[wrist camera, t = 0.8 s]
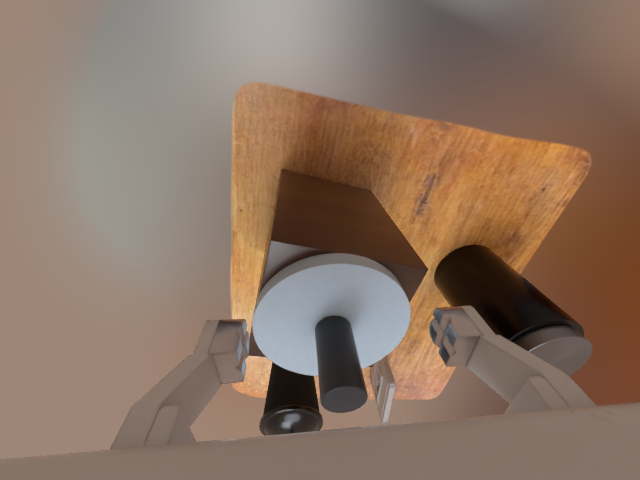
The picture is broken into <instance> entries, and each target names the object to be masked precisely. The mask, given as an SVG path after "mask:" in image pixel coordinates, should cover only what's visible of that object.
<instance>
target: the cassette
mask: <svg viewBox="0 0 640 480" xmlns="http://www.w3.org/2000/svg"><path fill="white" fill-rule="evenodd" d="M370 378H371V384H372V388H373V392H374V396H375V400H376V403H377V407H378V411H379V415H380V419H381V423H382V424H387V421H388V416H389V412H390V408H391V403H392V399H393V395H394V390H395V386H396V384H395V380H394V377H393V375H392V372H391V369H390V366H389V363H388V360H387V357H386V356H385V357H384V358H382V359H381V360H379V361H378V362H376V363H375V364H374V365H373V367H371V374H370Z"/></svg>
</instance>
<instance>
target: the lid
mask: <svg viewBox="0 0 640 480" xmlns="http://www.w3.org/2000/svg"><path fill="white" fill-rule="evenodd" d="M410 317H411V312H410V304H409V300H408V298H407V296H406V294H405V292H404V290H403V288H402V286H401V284H400V283H399V281H398V280H397V278H396V277H395V276H394V275H393V274H392V272H391V271H389V270H388V269H387V268H386V267H384V266H383V265H381V264H379V263H378V262H376V261H374V260H371V259H368V258H366V257H362V256H358V255H353V254H346V253H330V254H321V255H316V256H311V257H308V258H305V259H302V260H299V261H297V262H295V263H293V264H291V265H289V266H287V267H285V268H284V269H282V270H281V271H279V272H278V273H277V274H276V275H274V276H273V277H272V278H271V279H270V280H269V281H268V282H267V283H266V285H265V286H264V288H263V289H262V291H261V292H260V294H259V296H258V298H257V302H256V305H255V310H254V316H253V324H252V328H253V335H254V338H255V341H256V343H257V345H258V347H259V349H260V350H261V351H262V353H263V354H264V355H265V356H266V357H267V358H268V359H269V360H271V361H272V362H273V363H275V364H277V365H278V366H280V367H282V368H284V369H287V370H289V371H292V372H295V373H299V374H304V375H311V376H319V387H320V399H321V404H322V406H323V407H324V408H325V409H326V410H328V411H331V412H335V413H344V412H349V411H353V410H356V409H358V408H360V407H361V406H362V405H364V404H365V402H366V400H367V397H368V395H367V390H366V386H365V382H364V378H363V373H362V369H363V368H366V367H368V366H370V365H372V364H374V363H376V362H378V361H379V360H381V359H382V358H384V357H385V356H387V355H388V354H389V353H390V352H391V351H392V350H394V349H395V347H396V346H397V345H398V344H399V343H400V342H401V340H402V339H403V337H404V335H405V333H406V331H407V329H408V326H409V323H410Z"/></svg>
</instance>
